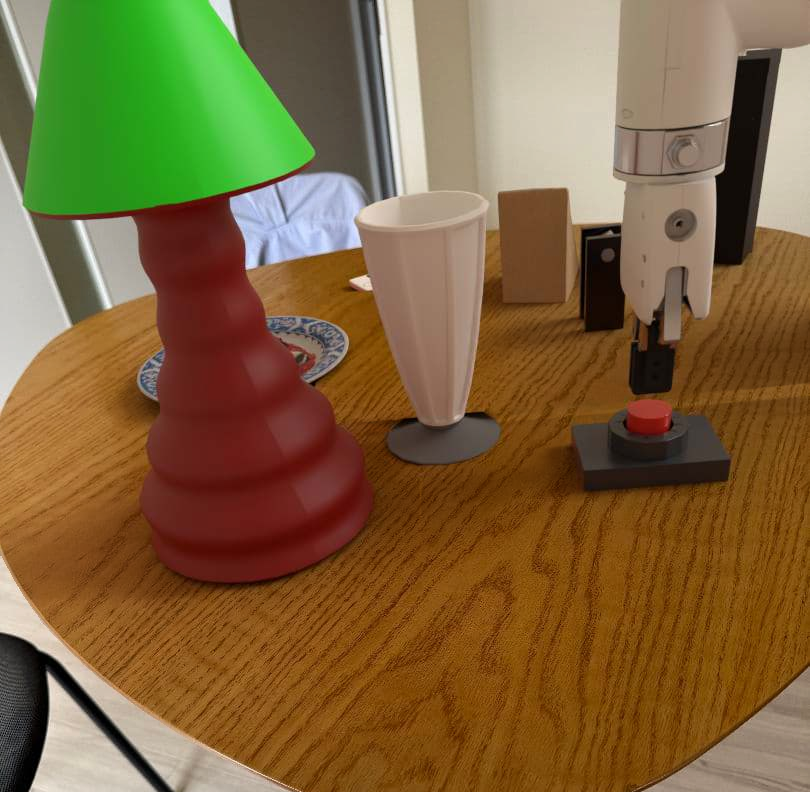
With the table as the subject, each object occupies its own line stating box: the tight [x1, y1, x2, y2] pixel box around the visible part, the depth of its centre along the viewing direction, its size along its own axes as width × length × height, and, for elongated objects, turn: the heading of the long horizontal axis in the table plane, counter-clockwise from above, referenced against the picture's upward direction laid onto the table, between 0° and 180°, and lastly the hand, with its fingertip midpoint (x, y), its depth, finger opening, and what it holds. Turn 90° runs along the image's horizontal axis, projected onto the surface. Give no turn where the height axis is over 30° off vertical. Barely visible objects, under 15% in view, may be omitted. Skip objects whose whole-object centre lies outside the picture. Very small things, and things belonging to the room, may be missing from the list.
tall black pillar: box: [713, 49, 783, 266], centre depth 99 cm, size 8×8×28 cm
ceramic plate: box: [136, 315, 350, 403], centre depth 95 cm, size 26×26×3 cm
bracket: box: [578, 222, 626, 333], centre depth 90 cm, size 12×8×12 cm, turn 88°
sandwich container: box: [497, 187, 580, 304], centre depth 102 cm, size 9×15×15 cm, turn 163°
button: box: [626, 398, 672, 436], centre depth 67 cm, size 4×4×2 cm
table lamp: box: [22, 0, 375, 584], centre depth 56 cm, size 20×20×45 cm
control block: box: [570, 407, 732, 493], centre depth 68 cm, size 12×8×4 cm, turn 88°
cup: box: [353, 190, 502, 466], centre depth 71 cm, size 12×12×22 cm
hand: (649, 389), depth 65 cm, fingers closed
